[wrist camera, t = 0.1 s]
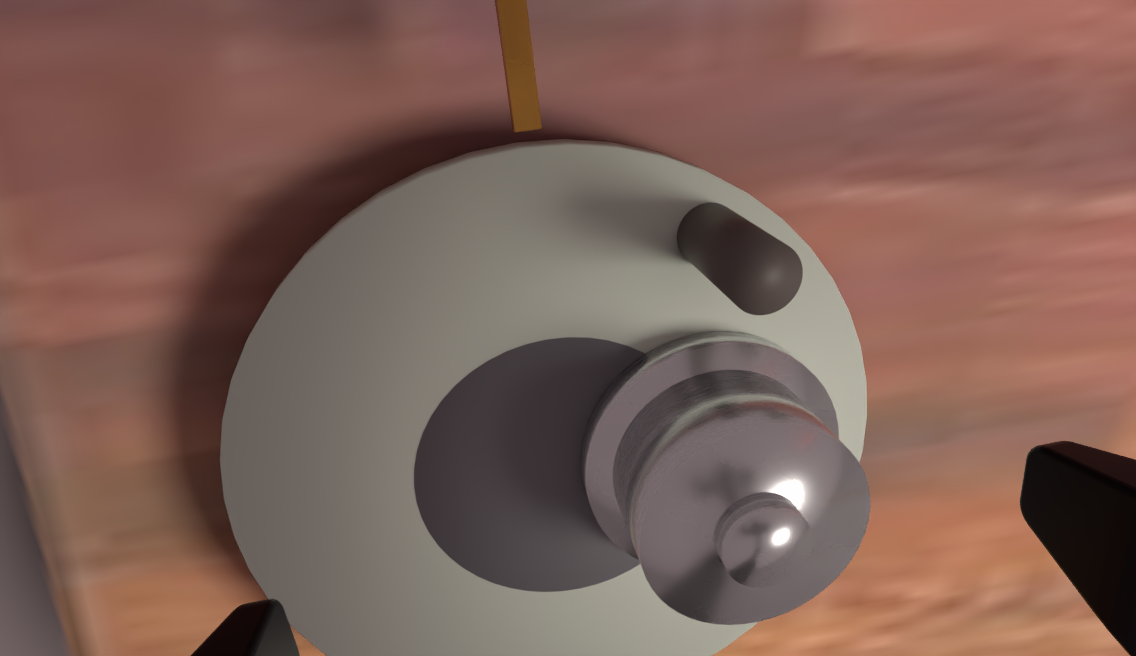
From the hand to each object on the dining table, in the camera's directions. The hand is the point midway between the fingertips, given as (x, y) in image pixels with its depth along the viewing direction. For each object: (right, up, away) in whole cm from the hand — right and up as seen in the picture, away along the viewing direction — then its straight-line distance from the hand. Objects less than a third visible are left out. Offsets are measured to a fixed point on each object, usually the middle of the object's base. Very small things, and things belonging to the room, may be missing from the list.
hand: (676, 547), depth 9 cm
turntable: (-2, -1, +16) cm, 16 cm away
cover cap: (+3, -1, +15) cm, 15 cm away
